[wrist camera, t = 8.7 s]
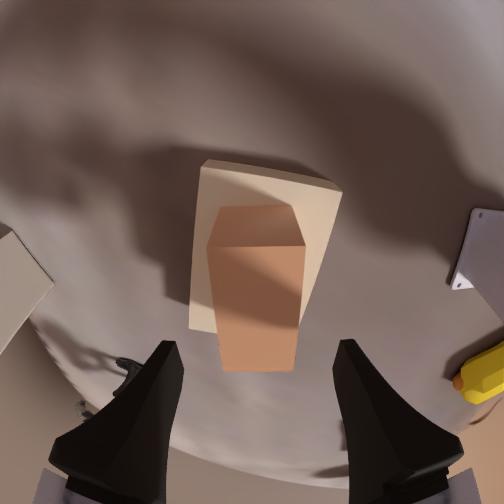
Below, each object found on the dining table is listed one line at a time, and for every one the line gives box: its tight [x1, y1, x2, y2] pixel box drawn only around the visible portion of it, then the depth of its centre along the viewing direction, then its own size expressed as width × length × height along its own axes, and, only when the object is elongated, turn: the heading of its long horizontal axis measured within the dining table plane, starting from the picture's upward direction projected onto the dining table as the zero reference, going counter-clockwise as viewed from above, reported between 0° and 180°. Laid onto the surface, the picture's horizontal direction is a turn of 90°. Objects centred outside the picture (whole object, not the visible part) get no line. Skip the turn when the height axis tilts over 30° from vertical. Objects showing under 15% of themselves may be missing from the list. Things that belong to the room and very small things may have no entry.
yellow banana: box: [453, 340, 504, 404], centre depth 25 cm, size 18×7×8 cm
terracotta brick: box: [206, 206, 306, 372], centre depth 15 cm, size 4×8×5 cm, turn 1°
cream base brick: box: [189, 159, 343, 333], centre depth 19 cm, size 8×12×3 cm, turn 170°
